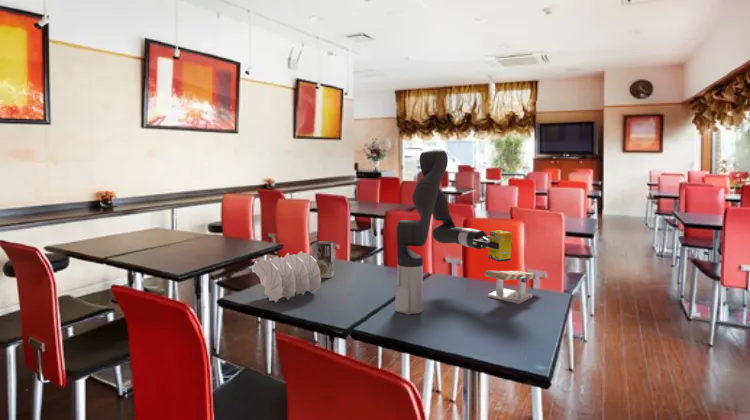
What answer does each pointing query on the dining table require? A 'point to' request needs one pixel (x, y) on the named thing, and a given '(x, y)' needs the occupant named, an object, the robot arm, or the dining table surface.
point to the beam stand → (511, 292)
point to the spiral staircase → (288, 275)
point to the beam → (509, 275)
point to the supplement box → (500, 245)
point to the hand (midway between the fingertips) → (504, 245)
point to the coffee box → (324, 258)
